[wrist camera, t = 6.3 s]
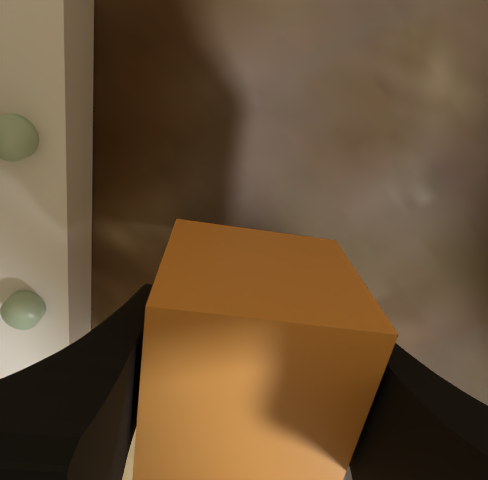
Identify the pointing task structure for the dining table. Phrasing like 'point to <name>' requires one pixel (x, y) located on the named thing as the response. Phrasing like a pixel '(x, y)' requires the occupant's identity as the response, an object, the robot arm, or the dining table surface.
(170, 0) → the dining table surface
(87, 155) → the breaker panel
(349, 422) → the tan orange cube
